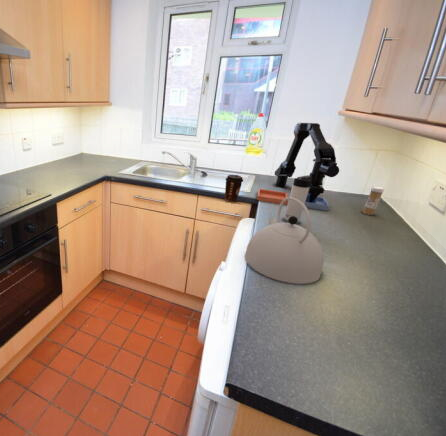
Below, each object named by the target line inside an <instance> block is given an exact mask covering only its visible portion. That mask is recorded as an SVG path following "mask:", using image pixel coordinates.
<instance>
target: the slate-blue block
mask: <svg viewBox="0 0 446 436" xmlns="http://www.w3.org/2000/svg"><path fill="white" fill-rule="evenodd" d="M317 197H318V196H317ZM317 197H316V199H317ZM309 199H310V193H308V194H307V198H306V201H305V202H309ZM316 199H315V200H314V201H313V202H312V203H315V202H316ZM309 203H310V202H309Z"/></svg>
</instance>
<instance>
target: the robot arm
mask: <svg viewBox="0 0 446 436" xmlns="http://www.w3.org/2000/svg"><path fill="white" fill-rule="evenodd" d="M293 135H294V139H293V141H292V143H291V146H290V148H289V151H288V153H287V155H286V157H285V159H284V160H283V161H282V162H281V163H280V165H279V166H278V168H276V170H275V171H274V176H276V177H277V178H276V181H275V183H274V187H278V188H287V182H288V179H289V178H292V177H293V175H294V174H295V171H296V169H297V167H296V165H295V164H296V163H295V162H296V160H297V157H298V154H299V152H300V151H301V148H302V145H303V144H304V141H305V140H306V139H307V138H308V137H310V138H311V141H312V143H313V145H314V149H313V155H314V157H315V158H313V159H312V162H313V166H312V170H311V172H309V174H308V175H301V176H297V177H296V178H299V179H308V180H311V183H310V187H309V193H310V199H309V202H310V203H312V202H313V201H314V200H315V199H316V197H319V196H320V195H321V194H324V193H325V188H324V187H323V185H324V184H323V181H324V179H325V178H326V177H328V178H334V177H336V176H338V175H339V173H340V168H339V166H337V165H338V163H337V156H336V152H335V148H334V147H333V145H332V144H330V143H328V142H327V140H326V138H325V136H324V134H323V132H322V129H321V125H320V123H318V122H298V123H296V124H295V126H294V130H293Z"/></svg>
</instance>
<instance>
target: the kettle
mask: <svg viewBox="0 0 446 436" xmlns="http://www.w3.org/2000/svg"><path fill="white" fill-rule="evenodd" d="M286 200H288V201H289V200H293V201H295V202H297V203H299V204H300V205H301V206H302V207H303V211H304V212H305V216H306V223H307V224H306V228H304V227H303V226H301V225H297V224H298V223H297V222H298V219H297V218H296V217H295V216H291V217H289V219H288V222H289V223H288V222H281V214H282V213H281V212H282V208H283V205H284V202H285V201H286ZM311 221H312V220H311V214H310V212H309V208H307V207H306V206H305V205H304V204H303V203H302V202H301V201H299V200H297V199H295V198H292V197H290V196H288V197H287V198H285V199H284V200H283V201H282V202H281V204H279V206H278V209H277V219H276V218H275V217H270V218H268V225H266V226H264V227H262V228H261V229H259V230H258V231H256V232H255V233H254V235H252V237H250V240H249V242H248V243H247V247H246V250H245V253H244V261H245V262H246V264H247V265H248V266H249V267H250V268H252V270H254V271H256V272H257V273H259V274H262V276H265V277H267V278H270V279H273V280H277V281H279V282H282V283H283V282H284V283H289V284H295V285H304V284H305V285H306V284H307V285H308V284H312V283H315V282H317V281H318V280H319V279H320V278H321V274H322V270H323V268H324V267H323V266H324V260H325V259H324V258H325V257H324V251H323V249H322V246H321V244H320V242H319V241H318V239H317V238H316V237H315V236H314V235H313V234H312V233H311V232H310V231H311V225H312V224H311V223H312V222H311ZM296 223H297V224H296Z"/></svg>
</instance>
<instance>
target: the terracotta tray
mask: <svg viewBox="0 0 446 436" xmlns="http://www.w3.org/2000/svg"><path fill="white" fill-rule="evenodd" d="M287 197H289V195H288V192H283V191H279V190H278V191H277V190H270V189H263V188H258V191H257V197H256V201H258V202H265V203H266V202H267V203H272V204H277V205H280V204H281V202H282V201H283V200H284V199H285V198H287ZM288 201H289V200H286V201H285V202H284V204H283V205H284V206H285V205H286V206H287V205H288Z"/></svg>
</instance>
